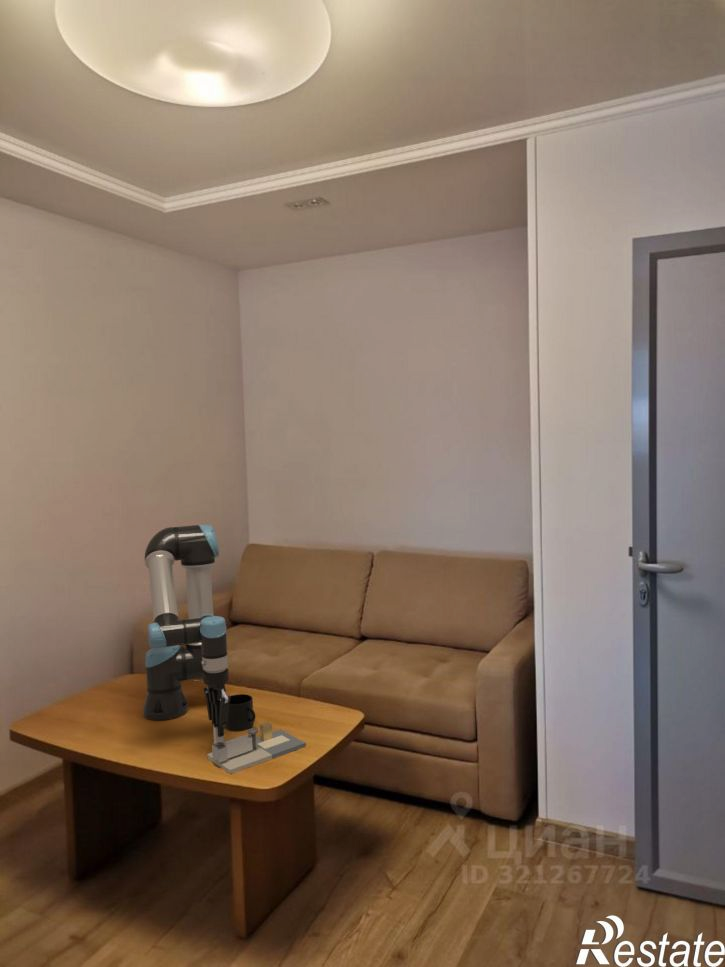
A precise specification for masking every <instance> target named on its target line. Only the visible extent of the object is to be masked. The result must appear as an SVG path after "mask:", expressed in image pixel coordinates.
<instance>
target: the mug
mask: <svg viewBox="0 0 725 967" xmlns="http://www.w3.org/2000/svg"><path fill="white" fill-rule="evenodd" d="M229 696H230V697H231V699H230V702H229V713H228V724H227V725H224V729H226V730H228V731H230V732H243V731H245V730H247V731H248V730H249V729H252V727H253V726H254V723H255V722H254V721H255V720H256V713H255V711H254V705H253V703H254V702H253V700H254V698H253V696H251V695H249V694H243V693H241V694H240V693H238V694H237V693H236V694H233V695H229Z"/></svg>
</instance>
